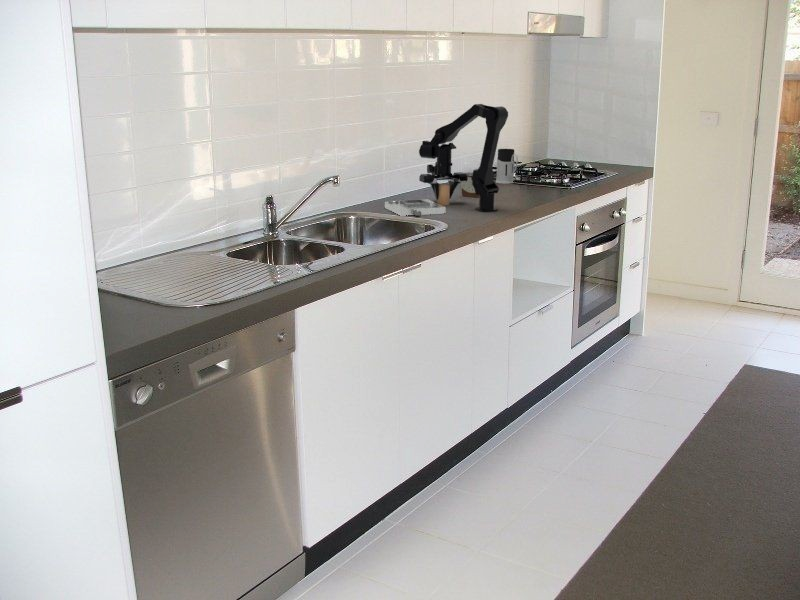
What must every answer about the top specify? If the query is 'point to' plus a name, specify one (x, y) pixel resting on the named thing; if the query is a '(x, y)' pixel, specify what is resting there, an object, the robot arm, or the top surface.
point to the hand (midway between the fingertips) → (443, 199)
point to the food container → (468, 188)
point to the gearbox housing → (414, 207)
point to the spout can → (444, 194)
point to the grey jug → (506, 166)
